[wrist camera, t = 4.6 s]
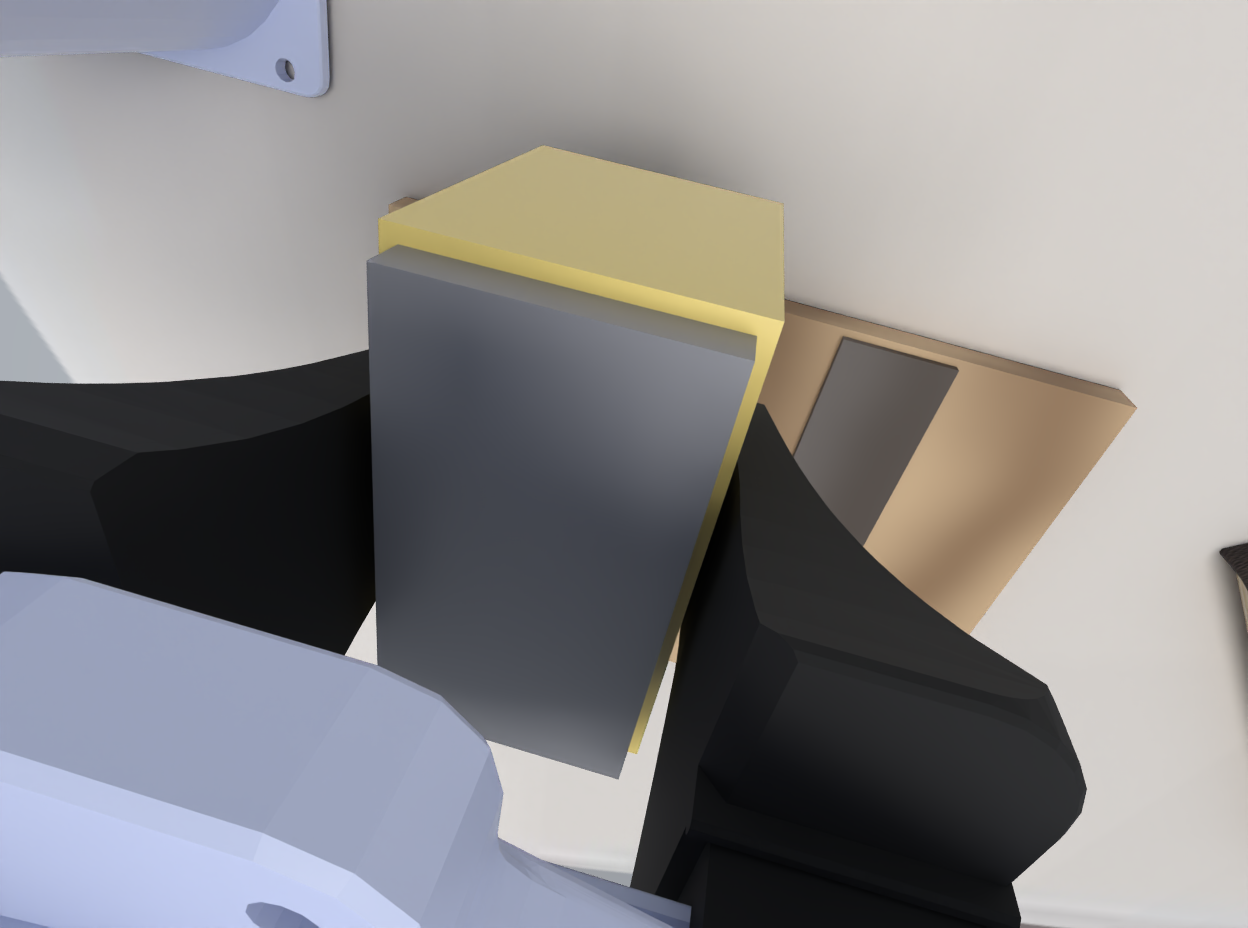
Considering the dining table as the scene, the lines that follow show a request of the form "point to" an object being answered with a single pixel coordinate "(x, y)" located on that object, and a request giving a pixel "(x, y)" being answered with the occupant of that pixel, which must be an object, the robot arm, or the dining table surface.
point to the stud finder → (559, 434)
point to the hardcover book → (1239, 571)
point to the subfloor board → (932, 448)
